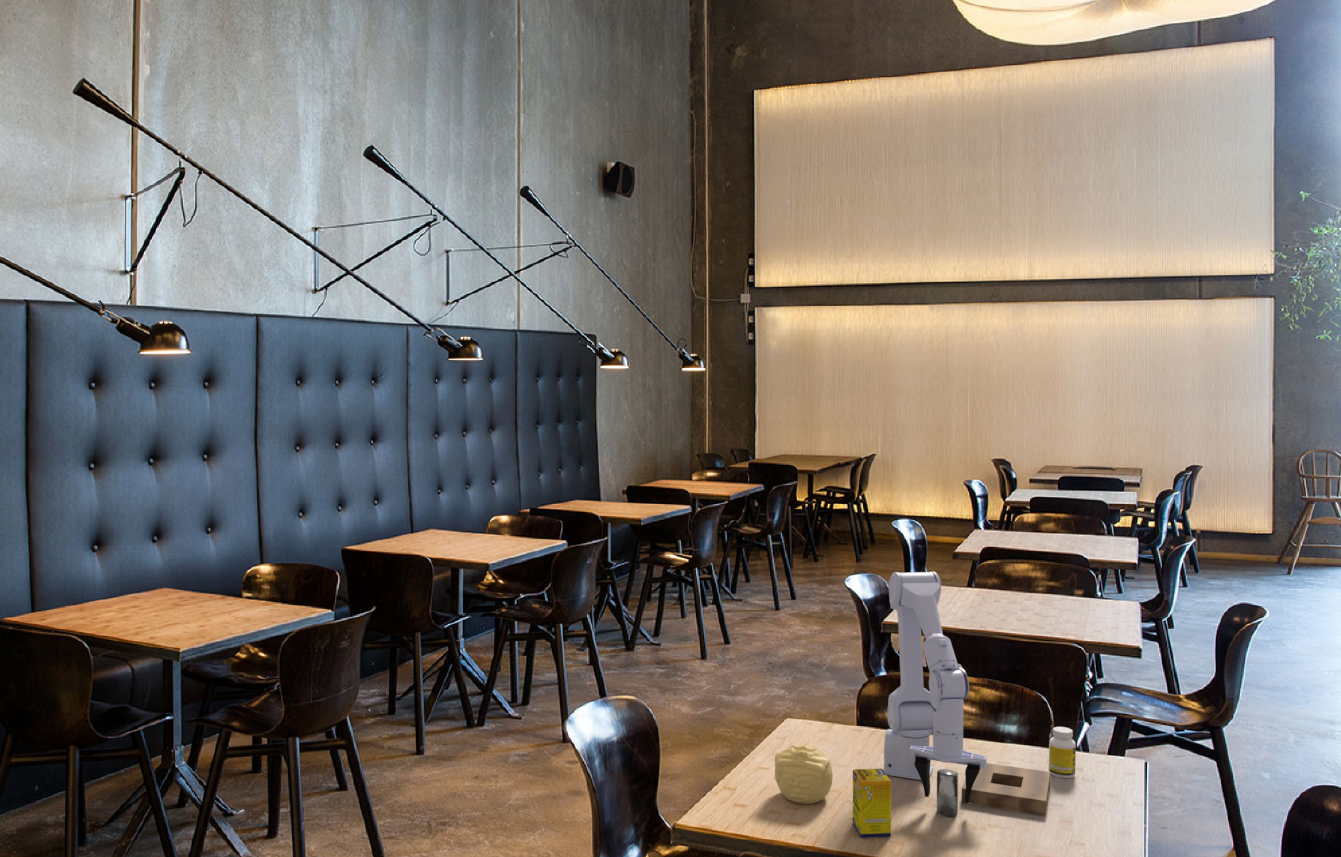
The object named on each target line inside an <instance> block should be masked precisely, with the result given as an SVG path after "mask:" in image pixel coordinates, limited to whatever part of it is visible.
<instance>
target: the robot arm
mask: <svg viewBox="0 0 1341 857" xmlns="http://www.w3.org/2000/svg"><path fill="white" fill-rule="evenodd" d="M941 593H942V583H941V578H940V576H939V575H938V573H937V572H936V571H933V570H931V571H917V572H914V571H913V572H898V571H894V572H893V573H891V576H890V577H889V581H888V597H889V604H890V605H889V606H890V609H892V610H895V611H896V614H897V625H898V646H899V647H898V648H899V652H898V653H899V672H900V676H899V677H900V685H899V687H897V688H896V689H895V690H894V691H893V692H892V693H890V694H889V695H888V705H887V709H886V710H887V712H886V713H887V714H886V718H887V723H888V726H889V728H887V730H885V731H886V732H885V735H884V742H883V743H884V745H883V746H884V748H883V749H884V750H883V751H884V752H883V770H884V772H885V774H886V775H887V776H890V777H891V776H892V777H898V778H905V779H911V780H918V781H921V784H922V787H923V792H924V797H926V798H929V796H930V794H931V780H930V776H931V775H932V772H933V770H934V766H932V765H931V761H936V762H941V763H946V764H949V763H951V764H957V765H965V766H966V767H965V771H964V774H965V776H964V777H965V778H966V791H965V803H964V804H967V803H969V801H970V794H971V790H972V786H973V784H974V782H975V780H976V778H977V776H978V774H979V771H980V768H982V769H986V765H987V763H988V761H987V759H988V758H987V755H984V754H983V755H982V754H977V753H974V752H970V751H966V750H964V704H965V703H964V700H966V699H967V698H968V696H969V692H970V682H969V678H968V674H967V672H966V670H965V669H964V668H963V666H962V664H960V663H958V661H957V658H956V655H955V651H954V648H953V645H952V641H951V639H950V638H949V637H948V636H945V635H944V634H943V632H944V631H943V629H942V623H941V619H940V613H939V608H938V604H939V601H940V597H941ZM922 632H923V636H924V638H925V639H924V641H923V642H922ZM922 643H923V644H922ZM923 654H924V656H925V661H926V664H927V667H928V671H929V679H928V688H929V690H928V689H927V688H925V687H924V669H923V668H924V666H923V664H924V663H923ZM930 736H932V746H930Z"/></svg>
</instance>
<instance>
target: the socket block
mask: <svg viewBox="0 0 1341 857" xmlns="http://www.w3.org/2000/svg"><path fill="white" fill-rule="evenodd" d="M1050 789H1051V774H1050V772H1049V771H1046V770H1038V769H1032V768H1031V769H1030V768H1024V767H1018V766H1012V765H1011V766H1010V765H1002V764H997V763H988V762H987V765H986V769H982V768H980V771H979V774H978V776H977V778H976V780H975V782H974V784H973V786H972V790H971V794H970V801H969V803H971V804H970V805H973V804H974V806H975V805H976V806H979V807H985V808H986V807H987V808H994V809H1000V810H1004V811H1005V810H1006V811H1013V812H1017V811H1018V813H1025V814H1030V815H1037V816H1044V817H1046V816H1047V810H1048V804H1049V797H1050ZM965 791H966V777H965V779H964V781H963V784H962V786H961V803H962V804H966V803H965Z"/></svg>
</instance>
